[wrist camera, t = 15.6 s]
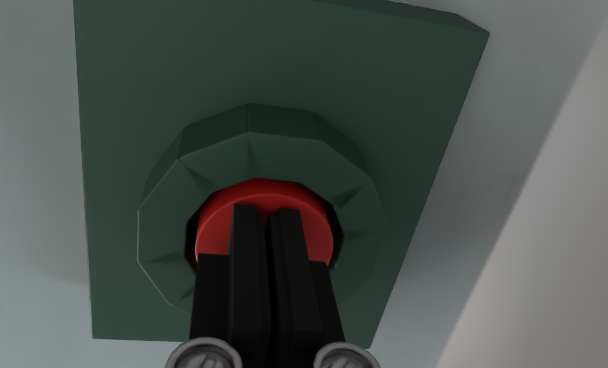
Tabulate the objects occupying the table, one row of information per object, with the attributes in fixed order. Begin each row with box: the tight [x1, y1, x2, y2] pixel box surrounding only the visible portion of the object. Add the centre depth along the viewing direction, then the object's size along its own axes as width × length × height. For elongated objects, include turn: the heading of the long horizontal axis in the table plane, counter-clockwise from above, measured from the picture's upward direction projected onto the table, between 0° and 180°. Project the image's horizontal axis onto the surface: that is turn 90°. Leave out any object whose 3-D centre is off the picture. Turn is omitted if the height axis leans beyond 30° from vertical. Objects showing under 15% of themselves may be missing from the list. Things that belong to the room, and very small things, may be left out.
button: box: [195, 177, 333, 266], centre depth 13 cm, size 4×4×2 cm
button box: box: [73, 0, 490, 349], centre depth 14 cm, size 12×10×4 cm
